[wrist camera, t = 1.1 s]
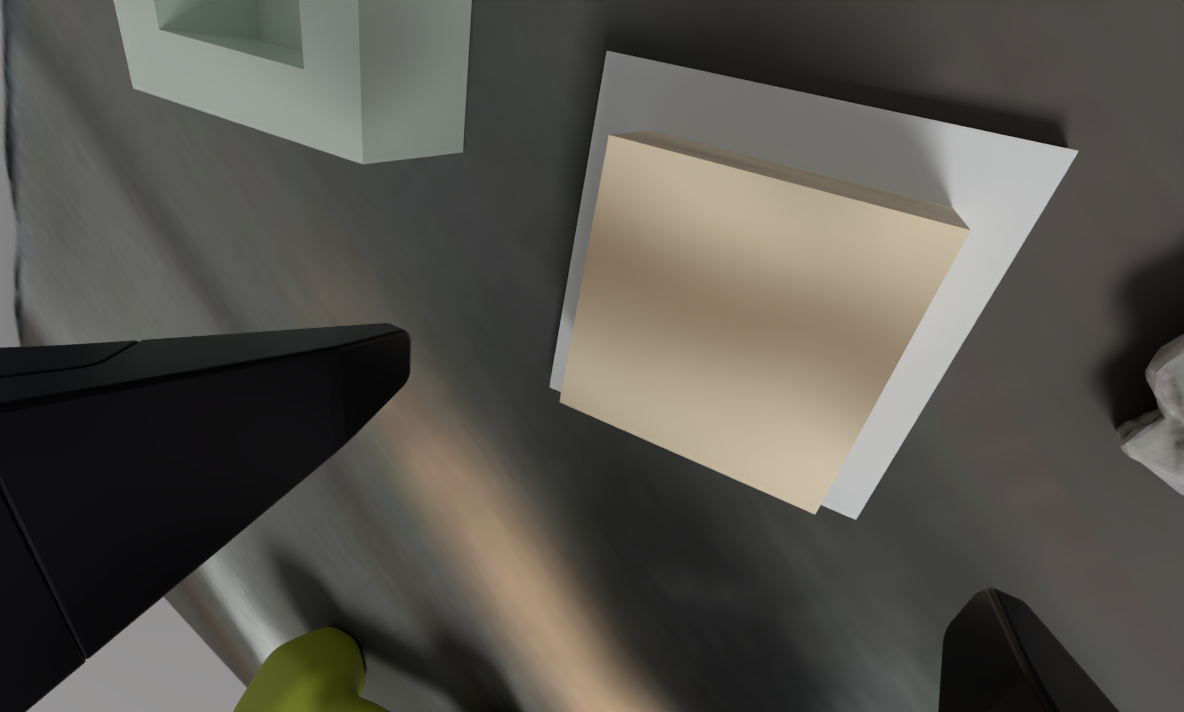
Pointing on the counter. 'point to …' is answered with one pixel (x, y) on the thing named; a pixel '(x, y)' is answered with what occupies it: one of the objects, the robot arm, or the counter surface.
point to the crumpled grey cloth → (1161, 419)
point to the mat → (858, 154)
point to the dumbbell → (310, 677)
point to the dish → (312, 69)
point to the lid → (748, 307)
